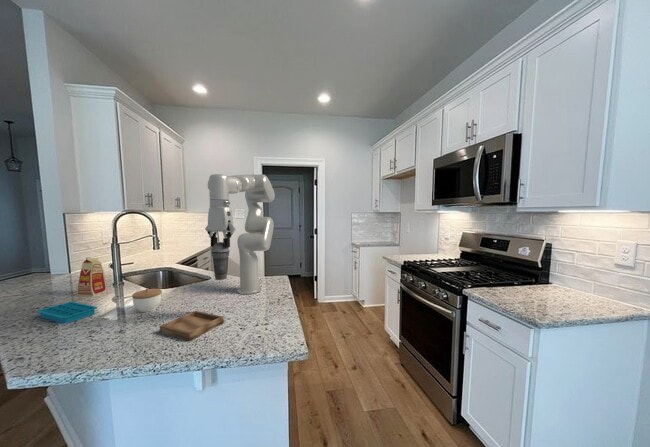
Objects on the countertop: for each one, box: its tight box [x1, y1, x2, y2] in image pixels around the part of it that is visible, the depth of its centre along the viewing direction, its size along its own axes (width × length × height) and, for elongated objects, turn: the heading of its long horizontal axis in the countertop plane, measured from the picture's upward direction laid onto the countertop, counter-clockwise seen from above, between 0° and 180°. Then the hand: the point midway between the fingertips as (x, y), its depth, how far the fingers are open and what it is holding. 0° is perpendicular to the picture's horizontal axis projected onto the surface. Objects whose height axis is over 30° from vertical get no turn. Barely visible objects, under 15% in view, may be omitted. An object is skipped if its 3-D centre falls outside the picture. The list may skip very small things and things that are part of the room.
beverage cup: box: [210, 232, 230, 281], centre depth 107 cm, size 7×7×20 cm
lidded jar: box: [131, 287, 163, 313], centre depth 112 cm, size 11×11×9 cm
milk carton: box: [76, 256, 108, 297], centre depth 134 cm, size 9×9×20 cm
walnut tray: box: [159, 310, 225, 342], centre depth 95 cm, size 15×15×2 cm
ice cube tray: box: [36, 301, 98, 324], centre depth 107 cm, size 12×20×3 cm, turn 70°
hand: (220, 246), depth 106 cm, fingers closed on beverage cup, 6 cm apart
